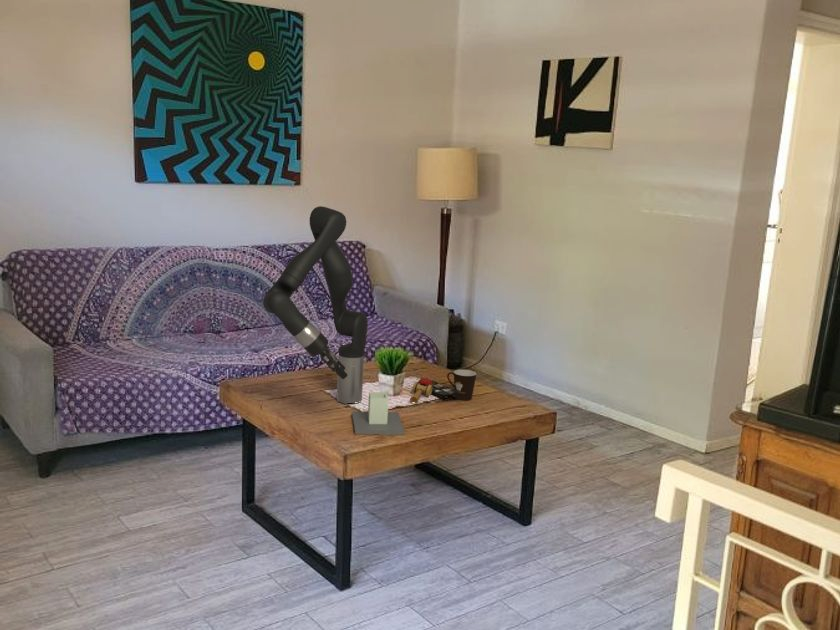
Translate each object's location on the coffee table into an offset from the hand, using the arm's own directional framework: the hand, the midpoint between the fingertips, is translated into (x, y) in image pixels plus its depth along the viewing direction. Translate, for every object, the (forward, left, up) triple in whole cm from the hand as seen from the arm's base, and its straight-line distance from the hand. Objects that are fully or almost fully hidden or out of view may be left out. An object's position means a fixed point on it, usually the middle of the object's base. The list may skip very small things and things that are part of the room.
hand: (344, 373), depth 263 cm
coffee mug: (-32, +47, -18) cm, 59 cm away
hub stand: (0, +12, -18) cm, 21 cm away
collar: (0, +12, -16) cm, 20 cm away
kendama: (-31, +31, -18) cm, 47 cm away
